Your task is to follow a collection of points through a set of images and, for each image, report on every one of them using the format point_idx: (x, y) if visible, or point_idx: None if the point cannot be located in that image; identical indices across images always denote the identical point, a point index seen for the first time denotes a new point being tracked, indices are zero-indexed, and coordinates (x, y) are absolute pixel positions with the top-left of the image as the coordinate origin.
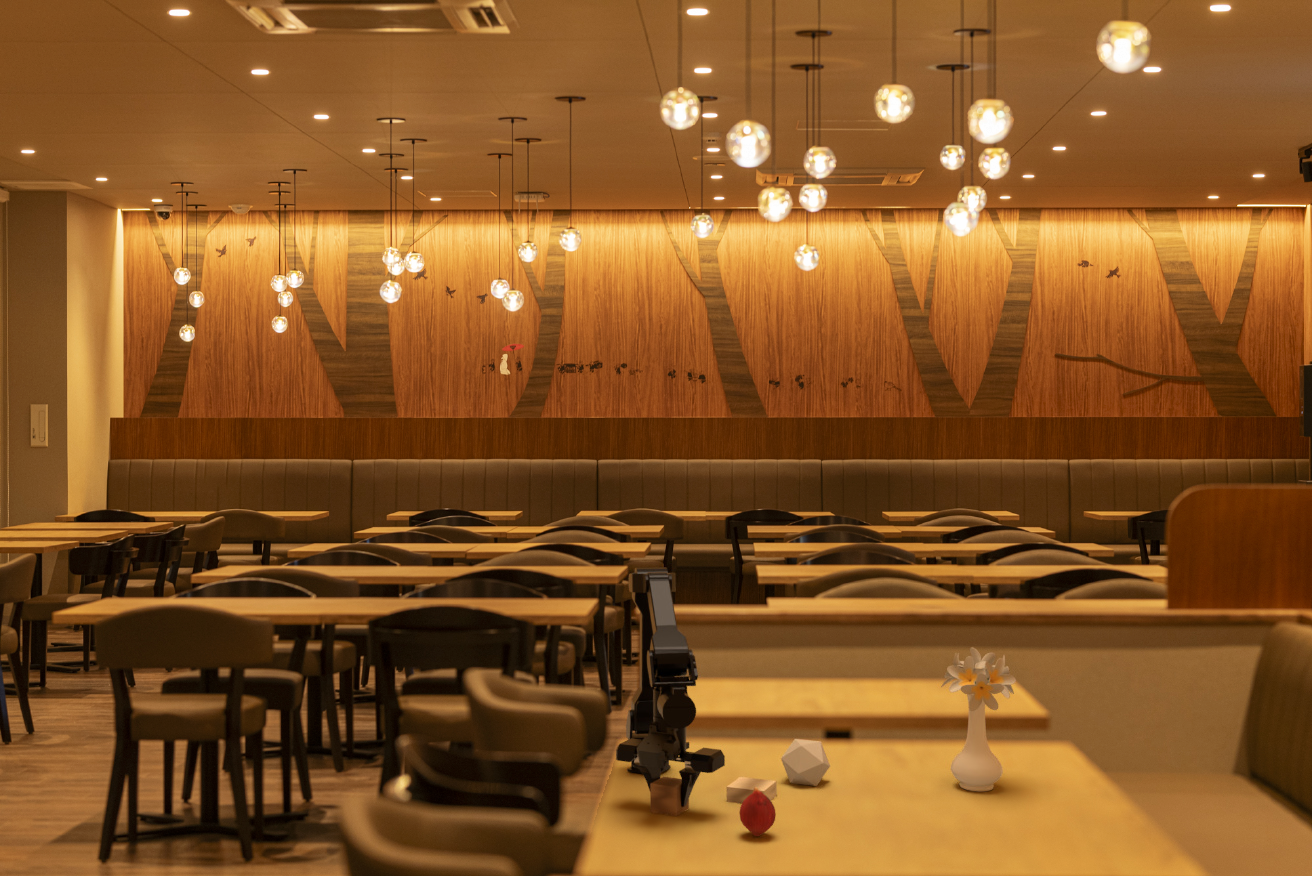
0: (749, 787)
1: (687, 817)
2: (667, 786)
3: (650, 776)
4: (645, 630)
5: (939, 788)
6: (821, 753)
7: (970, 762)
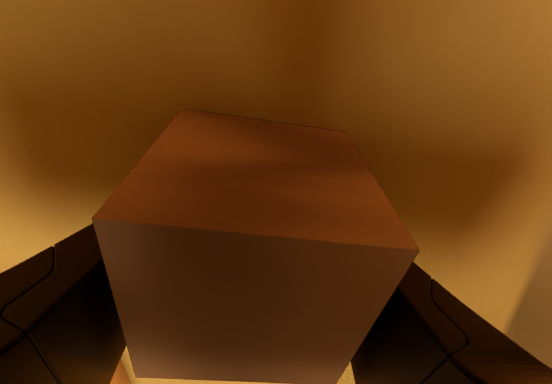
0: None
1: (113, 111)
2: (214, 227)
3: (447, 343)
4: None
5: None
6: None
7: None
